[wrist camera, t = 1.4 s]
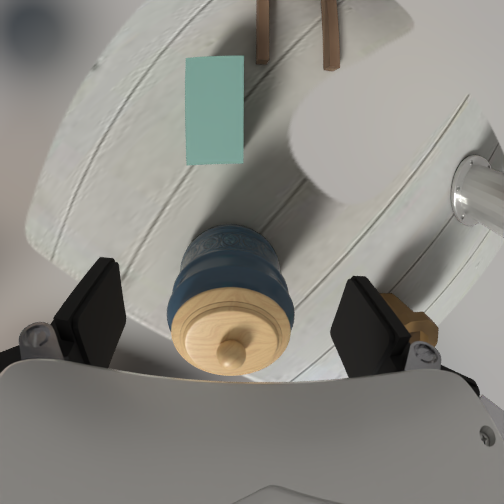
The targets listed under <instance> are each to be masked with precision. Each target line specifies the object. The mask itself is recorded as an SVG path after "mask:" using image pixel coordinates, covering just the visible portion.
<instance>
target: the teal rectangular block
mask: <svg viewBox="0 0 504 504" xmlns="http://www.w3.org/2000/svg"><path fill="white" fill-rule="evenodd" d="M243 117H244V56H208V57H193V58H186V74H185V126H186V161H187V165H204V164H240V163H243Z"/></svg>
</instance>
